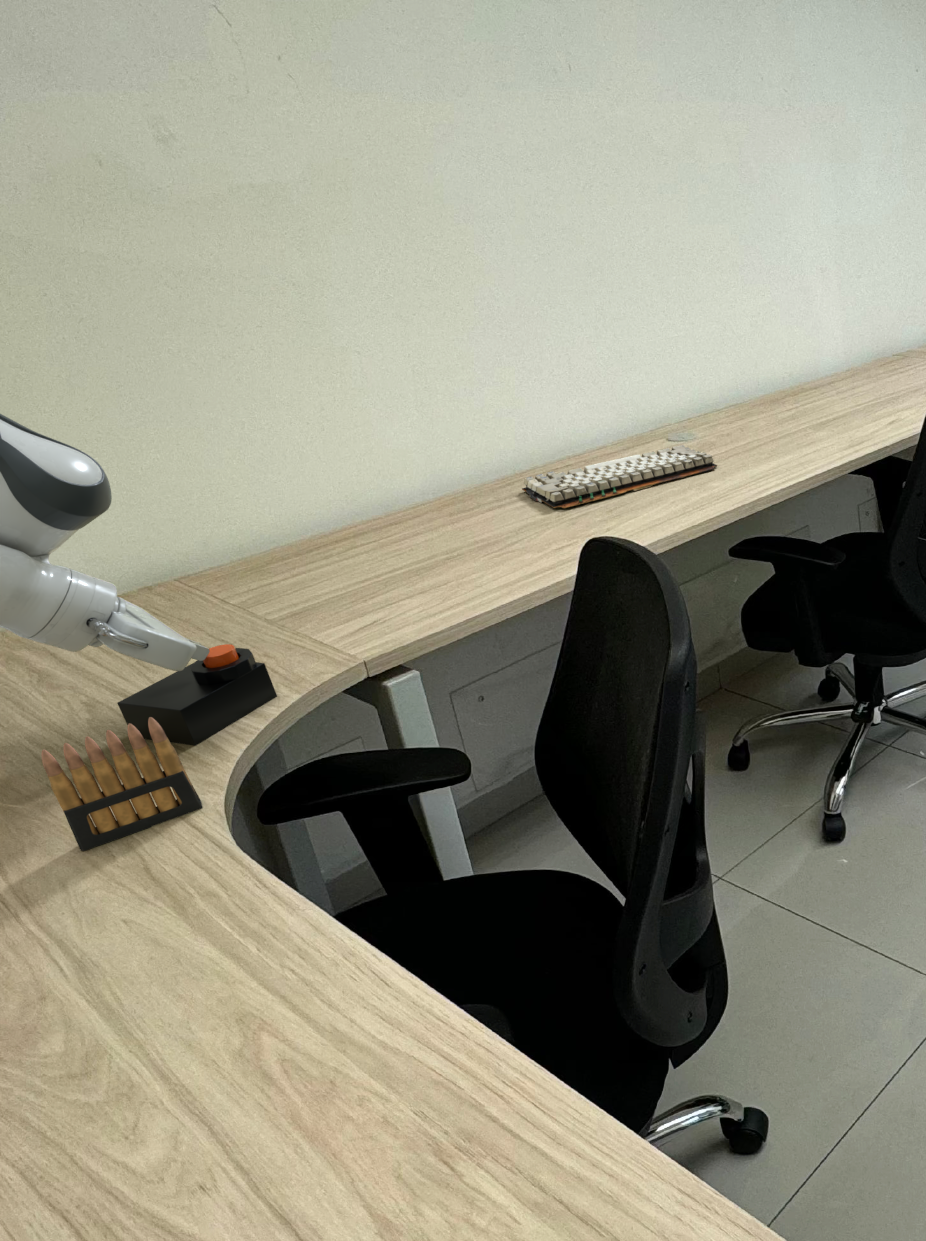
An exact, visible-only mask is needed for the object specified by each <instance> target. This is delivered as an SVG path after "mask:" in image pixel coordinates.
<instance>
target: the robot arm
mask: <svg viewBox="0 0 926 1241" xmlns="http://www.w3.org/2000/svg"><path fill="white" fill-rule="evenodd" d="M112 498H113V497H112V489H111V484H110V481H109V479H108V476H107V474H106V472H105V470H104V468H103V467H102V465H100V463H99V462H98V461H97V460H96V459H94V458H93V457H92V456H90V455H89V454H87V453H86V452H85V451H82V450H80V449H78V448H76V447H74V446H72V445H69V444H67V443H65V442H62V441H60V440H57V439H54V438H52V437H49V436H47V435H44V434H42V433H39V432H37V431H34V430H32V429H31V428H28V427H26V426H25V425H23V424H20V423H19V422H17V421H15V420H13V419H11V418H9V417H8V416H7V415H4V414H2V413H0V628H2V629H5V630H7V631H9V632H11V633H13V634H15V636H16V635H17V636H18V637H20V638H23V639H27V640H29V641H33V642H37V643H40V644H44V645H46V646H51V647H54V648H58V649H61V650H64V651H67V652H71V653H77V652H80V651H82V650H84V649H85V648H87V647H88V646H89V647H93V648H99V647H101V646H106V647H107V648H108V649H109V650H112V651H114V652H117V653H119V654H122V655H124V656H125V657H130V658H132V659H134V660H138V661H141V662H144V663H147V664H150V665H153V666H156V667H158V668H163V669H165V670H170V671H174V672H177V671H182V670H184V668H185V667H187V666H188V664H189V662H190V661H191V660H195V661H197V660H198V661H203V660H205V658H206V657H207V655H208V654H209V648H208V647H207V646H205V645H204V644H202V643H201V642H198V641H195V640H193V639H190V638H187V637H186V636H183V635H181V633H179V632H177V631H176V630H174V629H173V628H171V627H170V626H168V625H167V624H165V623H164V622H163V621H161V620H160V619H158V618H157V617H155V616H154V615H152V614H151V613H149V612H148V611H147V610H145V609H144V608H142V607H141V606H138V605H136V604H134V603H133V602H130V601H128V600H126V599H125V598H123V597H120V596H118V590H117V586H116V585H115V584H114V583H112V582H110V581H107V580H104V579H102V578H100V577H99V578H98V577H96V576H93V575H90V574H87V573H84V572H81V571H78V570H75V569H72V568H69V567H67V566H64V565H58V564H52V563H50V560H49V558H50V555H51V554H53V553H54V552H56V551H57V550H58V549H59V548H60V547H61V546H62V545H63V544H64V543H66V542H67V541H68V540H69V539H70V538H71V537H73V535H74V534H76V533H77V532H78V531H79V530H81V529H83V528H84V527H86V526H87V525H89V524H91V523H92V522H94V520H96V519H98V517H100V516H102V515H103V514H104V513H106V512H107V511H108V510H109V508H110V507H111V505H112V500H113V499H112Z"/></svg>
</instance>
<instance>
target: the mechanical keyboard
mask: <svg viewBox="0 0 926 1241" xmlns="http://www.w3.org/2000/svg"><path fill="white" fill-rule="evenodd" d="M714 462H715V460H714V458H713V455H712V454H709V453H707V452H705V451H703V452H702V451H700V450H695V449H691V447H689V446H685V445H684V444H679V445H676V446H672V447H671V449H670V448H669V447H666V448H663V449H657V450H656V452H655V451H650V452H645V453H642V454H641V455H640V454H632V455H630V456H629V455H628V456H624V457H620V458H615V459H611V460H607V461H602V462H598V463H594V464H589V465H585V466H584V469H582V468H581V467H578V468H573V469H569V470H567V473H566V472H565V471H561V472H558V473H557V472H555V471H554V470H551V471H549V472H546V475H544V474H543V473H540V474H536V475H535V476H534V477H533V476H527V477H524V480H523V485H525V487H522V488H521V491H524V492H526V494H527V495H528V496H529V498H530V499H533V500H534V502H539V503H542V502H543V503H545V504H546V505H547V506H549V507H552V508H553V509H556V508H562V509H567V508H571V507H574V506H579V505H582V504H587V503H590V502H595V501H599V500H602V499H606V498H610V497H614V496H619V495H621V494H625V493H627V492H630V491H634V492H636V491H639V490H642V489H647V488H650V487H652V486H653V485H659V484H661V483H666V482H669V481H674V480H677V479H683V478H686V477H689V476H693V475H697V474H701V473H705V472H709V471H713V470H715V468H716V467H718V464H715V463H714Z"/></svg>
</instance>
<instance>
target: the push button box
mask: <svg viewBox="0 0 926 1241" xmlns="http://www.w3.org/2000/svg"><path fill="white" fill-rule="evenodd" d="M235 650H236V652H237V654H238V657H239V659H238V660H236V661H234V662H232V663H230V664H228V665H224V666H221V667H215V668H206V667H205V664H204V662H203V661H198V660H195V661H194V662H193V663H190V664H189V665H187V666H186V667H185V668H184V670H182V671H174V672H173V673H171V674H170V675H167V676H165V677H164V678H162V679H159V680H158V681H156V682H153V683H152V684H150V685H149V686H146V687H145V688H142V689H141V690H139V691H137V692H135V693H133V694H131V695H129V696H127V697H125V698H124V699H122V700H120V701H118V702H117V703H116V704H117V707H118V708H119V710H120V712H121V714H122V716H123V719H124V721H125V723H126V724H127V726H128V724H129V723H130V724H132V725H134V726H135V727H136V728H137V729H138V731H139V732H140V733H141V735H142V736H143V738H144V740H149V741H153V740H152V737H151V735H150V731H149V726H148V720H149V717H152V718H153V719H155V720H156V721H157V722H158V723H159V725H160V726H161V727H162V729H163V731H164V732H165V734H166V736H167V738H168V740H169V741H170V743H171V744H172V743H173V744H178V745H179V744H180V745H186V746H195V747H196V746H198V745H199V744H201V743H203V742H204V741H206V740H207V739H209V738H211V737H213V736H214V735H216V734H217V733H219V732H221V731H223V730H225V729H226V728H228V727H229V726H231V725H233V724H234V723H236V722H237V721H239V720H241V719H243V718H244V717H247V716H248V715H250V714H251V713H253V712H254V711H256V710H257V709H259V708H261V707H262V706H264V705H266V704H267V703H269V702H271V701H272V700H274V699H276V698H277V697H278V694H277V692H276V689H275V688H274V687H275V686H274V684H273V681H272V679H271V677H270V673H269V671H268V669H267V666H266V663H265V662H256V660H255V657H254V654H253V652H252V651H251V650H250V649H249V648H243V647H235Z"/></svg>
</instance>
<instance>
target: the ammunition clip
mask: <svg viewBox="0 0 926 1241" xmlns="http://www.w3.org/2000/svg"><path fill="white" fill-rule="evenodd" d="M148 726H149V731H150V735H151V737H152V740H151V741H152V743H153V745H154V748H155V753H156V755H155V754H154V752H153V751H152V750H151V748H150V747H149V745H148V743H147V741H146V739H144V738H143V736H142V735H141V733H140V732H139V731H138V729H137V728H136V727H135V726H134V725H132V724H130V723H129V724H128V725H127V727H126V728H127V731H126V732H127V737H128V740H129V743H130V745H131V747H132V751H133V753H134V756H135V761H136V763H135V761H134V760H133V758H132V757H131V756H130V754H129V753H128V751H127V749H126V748H125V745H124V744H123V742H122V741H121V739H120V738H119V737H118V736H117V735H116V734H115V733H114V732H113V731H112V730H111V729H107V730H106V733H105V739H106V744H107V747H108V750H109V752H110V754H111V758H112V760H113V763H114V764H113V765H114V766H112V765H111V763H110V762H109V760H108V759H107V757H106V756H105V754H104V752H103V750H102V749H101V747H100V746H99V744H98V743H97V742H96V741H95V740H94V739H93V738H92V737H91V736H89V735H87V736H85V738H84V746H85V751H86V754H87V757H88V759H89V761H90V764H91V766H92V769H93V773H92V772H91V771H90V769H88V767H87V766H86V763H85V762H84V761H83V759H82V757H81V755H80V754H79V753H78V752H77V750H76V749H75V748H74V747H73V746H72V745H71V744H69V743H68V742H64V743H63V747H62V749H63V756H64V759H65V762H66V764H67V767H68V770H69V772H70V774H71V777H72V780H71V779H70V778H69V777H68V776H67V775H66V773H65V771H64V769H63V768H62V766H61V765H60V763H59V761H58V760H57V759H56V758H55V757H54V755H52V754H51V752H49V751H48V750H46V749H42V750H41V762H42V766H43V769H44V772H45V773H46V775H47V779H48V780H49V783H50V787H51V791H52V792H53V794H54V796H55V798H56V801H57V802H58V804H59V806H60V808H61V809H62V812H63V813H64V816H65V818H66V821H67V822H68V825H69V828H70V830H71V832H72V834H73V837H74V839H75V841H76V844H77V846H78V848H79V850H80V851H81V852H85V851H88V850H90V849H93V848H96V847H100V846H102V845H105V844H108V843H110V842H113V841H116V840H119V839H122V838H124V837H128V836H130V835H133V834H135V833H138V832H141V831H144V830H147V829H149V828H152V827H154V826H157V825H159V824H162V823H165V822H169V821H170V820H174V819H176V818H180V817H182V816H184V815H185V816H186V815H188V814H191V813H193V812H197V811H199V810H201V809H203V804H202V800H201V798H200V796H199V795H198V793H197V790H196V789H195V786H194V785H193V783H192V782H191V780H190V778H189V776H188V774H187V772H186V769H185V768H184V766H183V763H182V760H181V758H180V756H179V754H178V752H177V749H176V748H175V747H174V746H173V744H172V743H171V742H170V741H169V740H168V738H167V736H166V734H165V732H164V731H163V729H162V727H161V726H160V725H159V723H158V722H157V721H156V720H155V719H153V718H152V717H149V720H148ZM156 756H157V757H156ZM137 766H138V767H137ZM138 768H139V769H138ZM93 774H94V775H93Z"/></svg>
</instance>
